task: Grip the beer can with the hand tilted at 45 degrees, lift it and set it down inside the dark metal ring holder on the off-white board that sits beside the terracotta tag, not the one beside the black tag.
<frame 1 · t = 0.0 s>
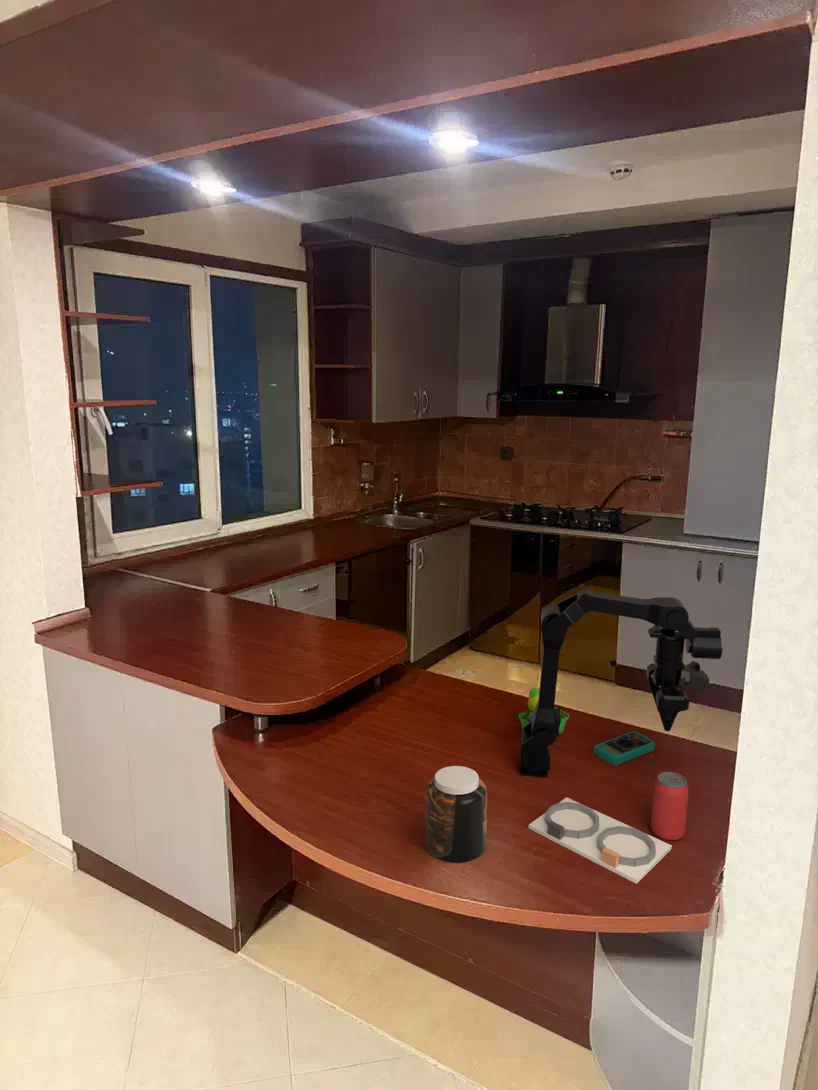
hand: (663, 721, 166), 15 cm above the table, tool pointing down, fingers open, 9 cm apart
beer can: (667, 832, 151), on the table
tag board: (598, 838, 149), on the table
jar: (455, 845, 147), on the table
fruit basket: (541, 732, 192), on the table
digital multimeter: (623, 753, 183), on the table
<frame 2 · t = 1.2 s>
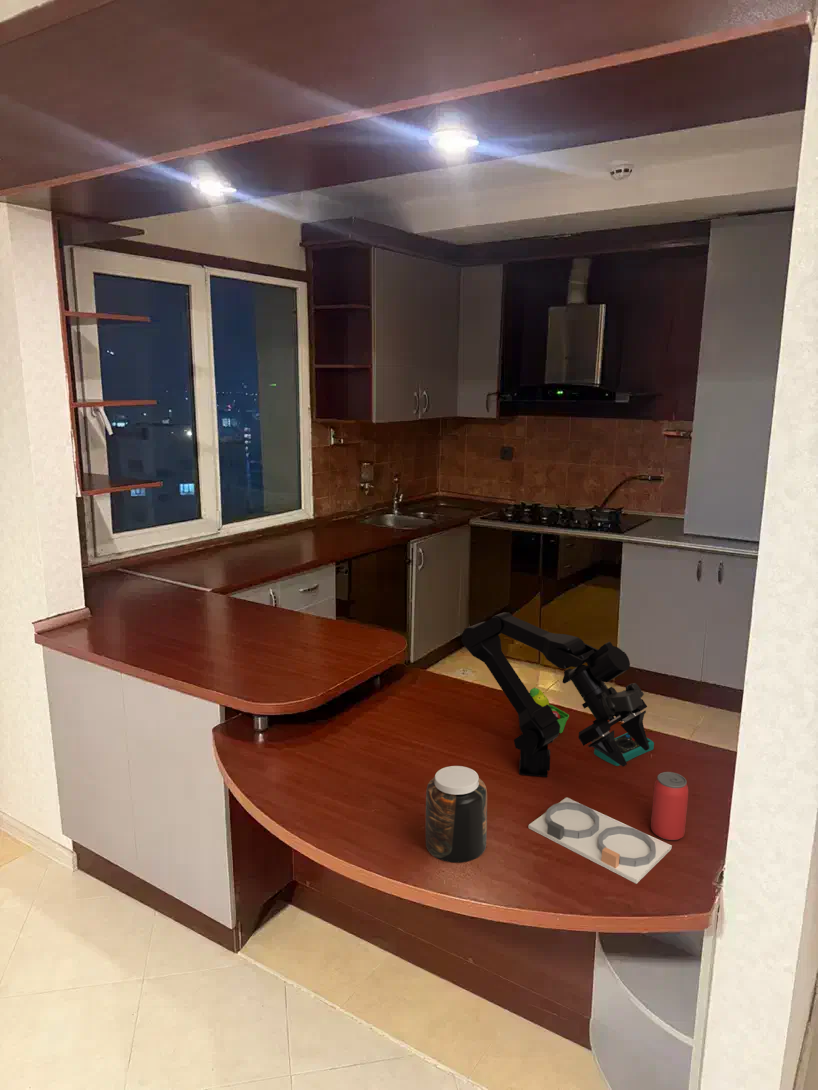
hand: (636, 757, 154), 13 cm above the table, tool tilted 45°, fingers open, 9 cm apart
nothing on the table moved.
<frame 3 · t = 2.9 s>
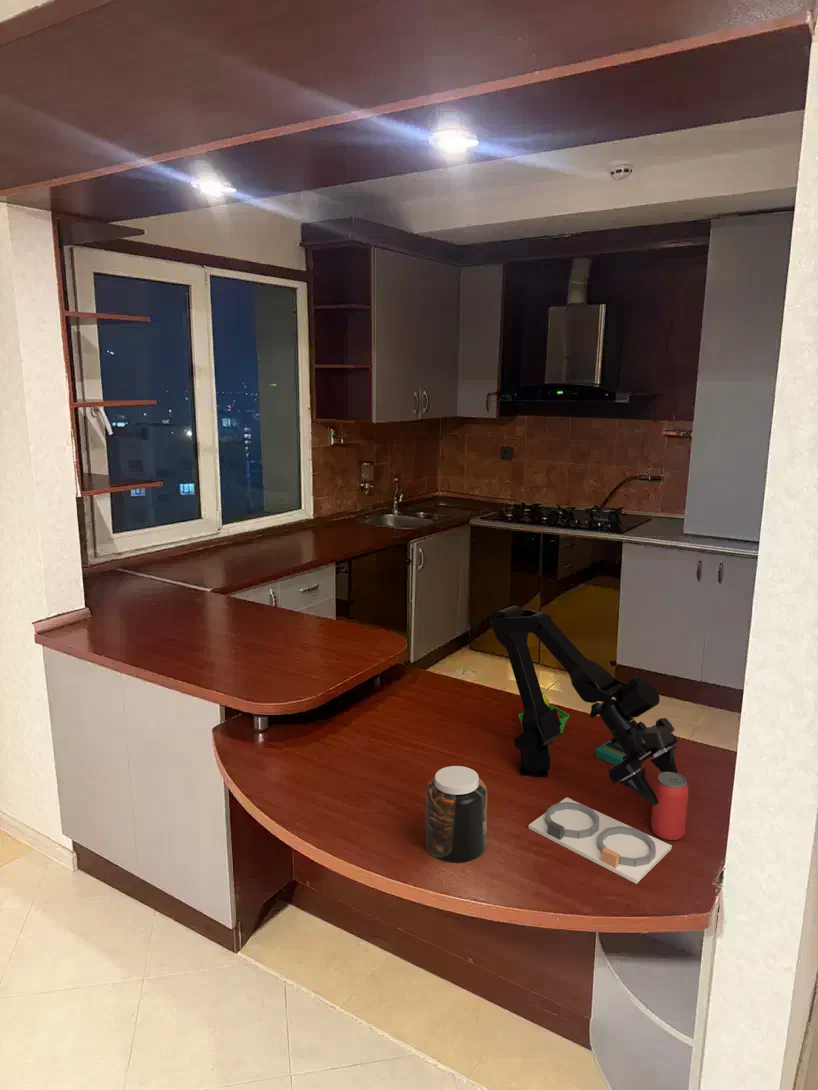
hand: (668, 795, 149), 8 cm above the table, tool tilted 45°, fingers open, 9 cm apart
nothing on the table moved.
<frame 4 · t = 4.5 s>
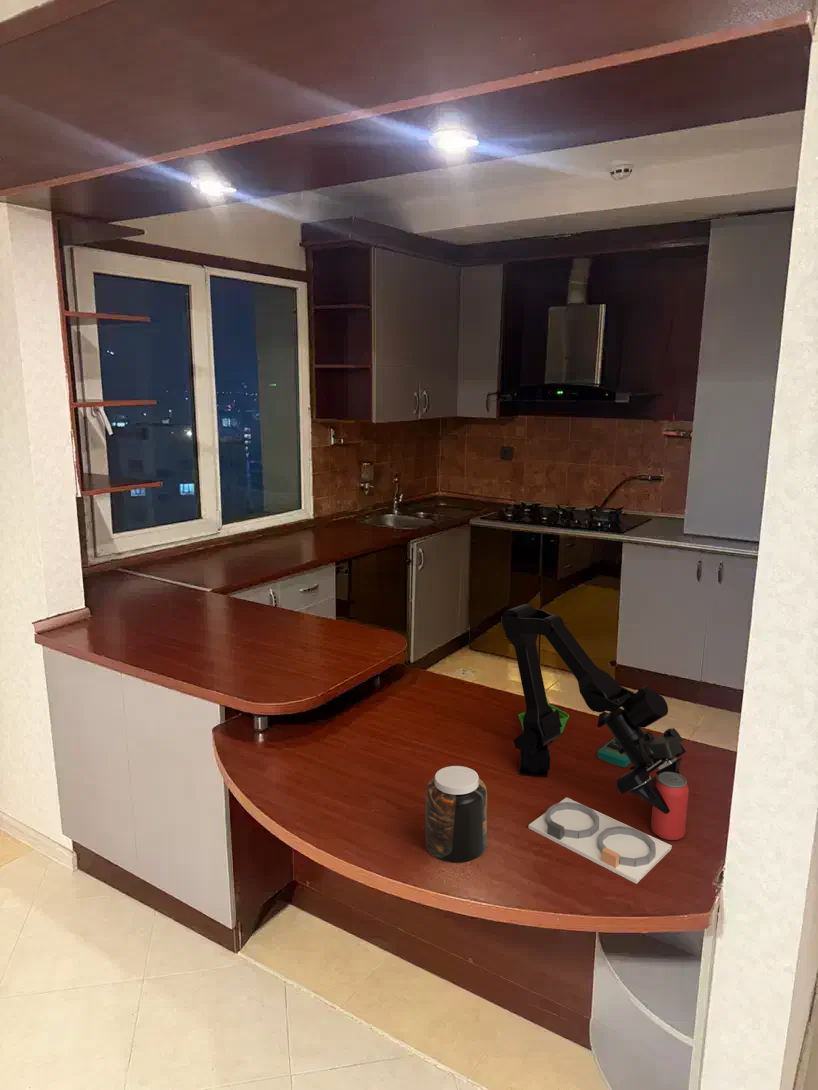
hand: (676, 805, 148), 7 cm above the table, tool tilted 45°, fingers closed on beer can, 7 cm apart
beer can: (667, 832, 151), on the table, touching gripper
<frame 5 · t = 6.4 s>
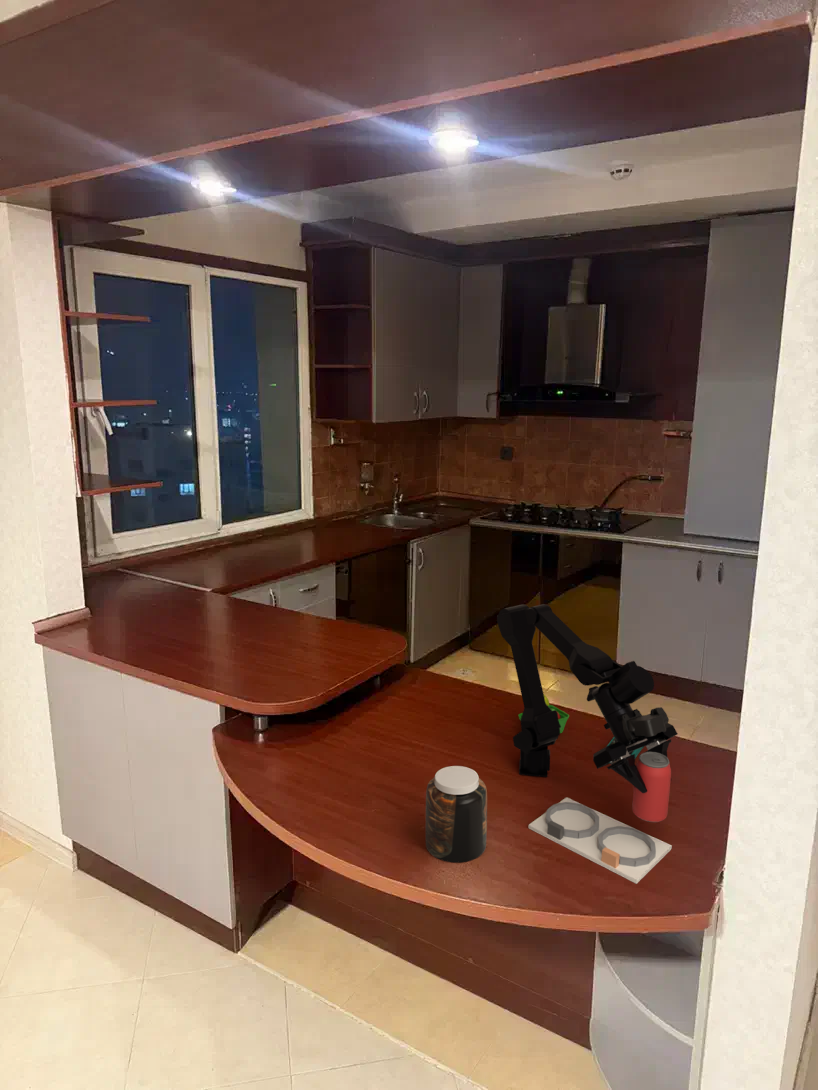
hand: (657, 787, 143), 13 cm above the table, tool tilted 45°, fingers closed on beer can, 7 cm apart
beer can: (649, 814, 146), point 6 cm above the table, touching gripper
when the fingers open (9 cm above the table, at t = 8.7 s): beer can drops 2 cm, resting on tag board.
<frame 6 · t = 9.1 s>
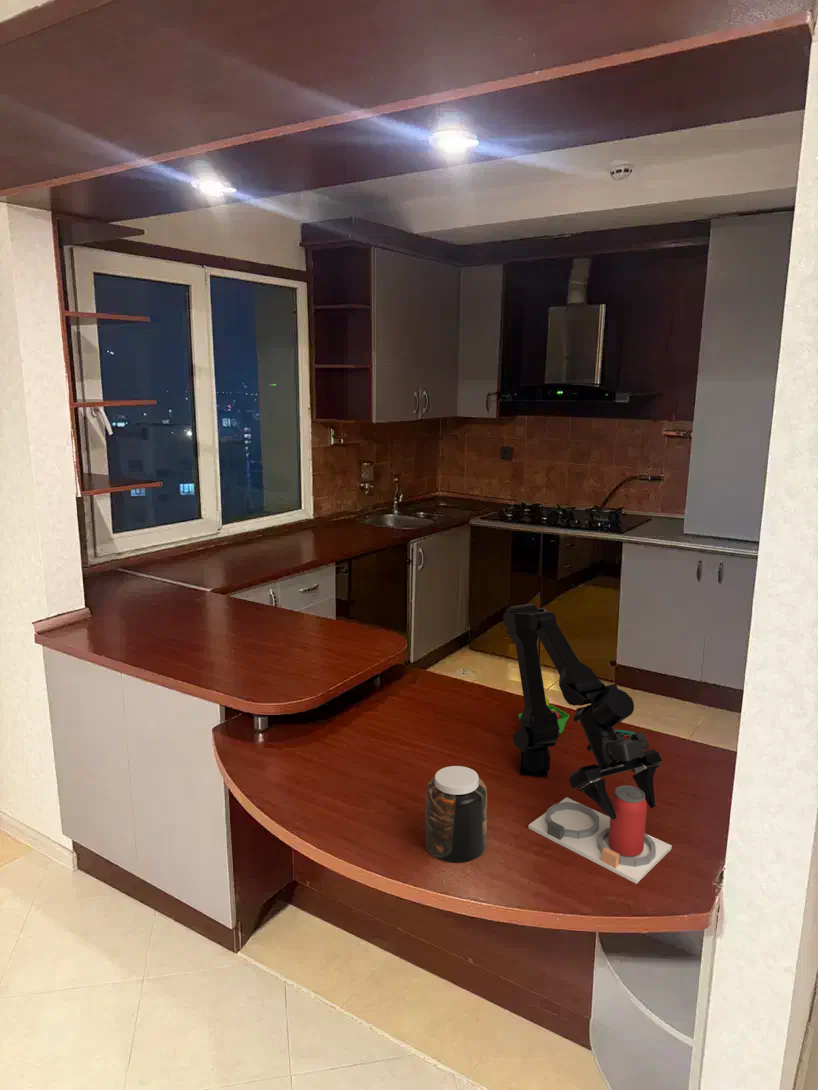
hand: (634, 813, 141), 9 cm above the table, tool tilted 45°, fingers open, 9 cm apart
beer can: (625, 848, 145), point 1 cm above the table, touching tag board
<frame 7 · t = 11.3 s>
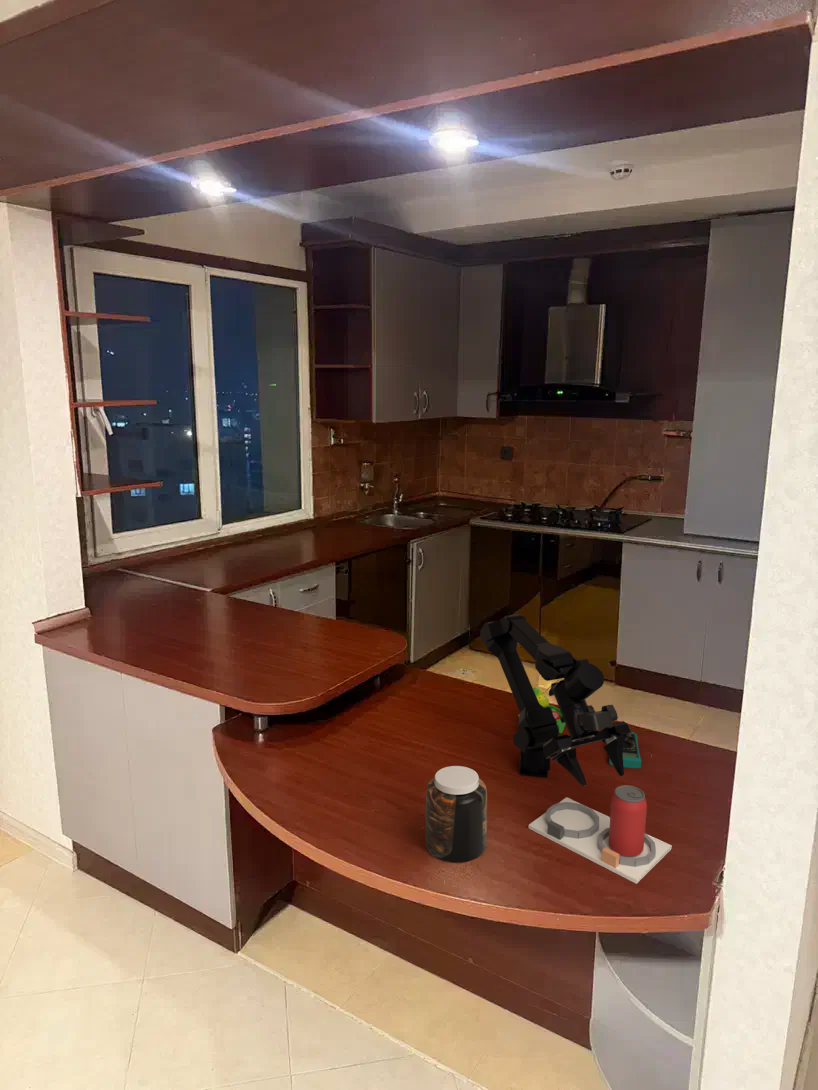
hand: (603, 780, 149), 11 cm above the table, tool tilted 45°, fingers open, 9 cm apart
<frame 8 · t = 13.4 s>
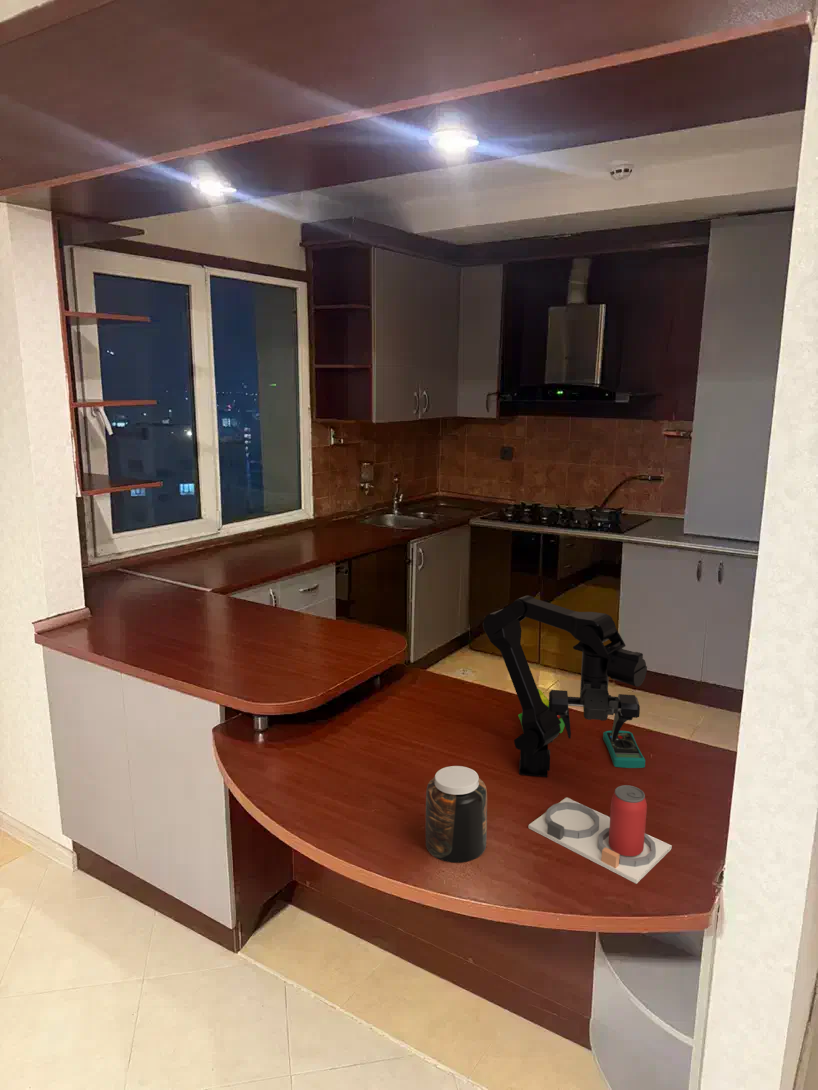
hand: (591, 739, 162), 13 cm above the table, tool pointing down, fingers open, 9 cm apart
at the end: beer can 0.2 cm from the target spot, point 0.6 cm above the table; beer can tilted 0°; the gripper is holding nothing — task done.
